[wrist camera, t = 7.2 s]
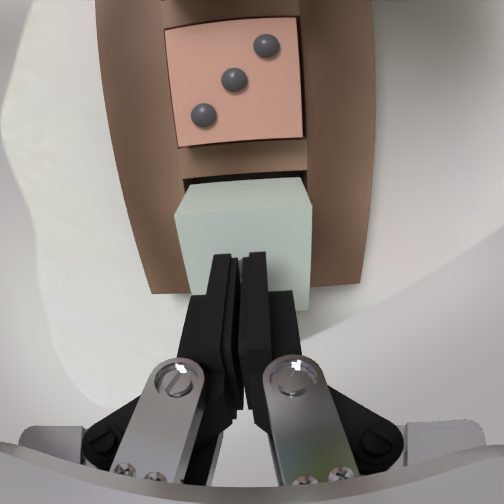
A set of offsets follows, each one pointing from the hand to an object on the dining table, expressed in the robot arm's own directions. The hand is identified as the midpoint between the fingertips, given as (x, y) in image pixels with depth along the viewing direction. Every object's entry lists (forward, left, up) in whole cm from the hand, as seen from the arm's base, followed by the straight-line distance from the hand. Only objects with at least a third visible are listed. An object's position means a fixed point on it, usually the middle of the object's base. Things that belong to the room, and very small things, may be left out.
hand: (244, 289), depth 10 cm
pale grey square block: (0, 0, -4) cm, 4 cm away
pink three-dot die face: (0, -7, -6) cm, 9 cm away
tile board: (0, -7, -6) cm, 9 cm away
